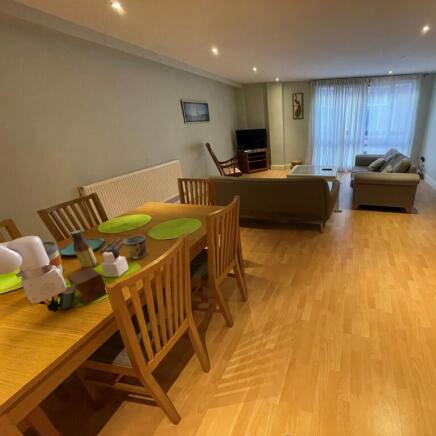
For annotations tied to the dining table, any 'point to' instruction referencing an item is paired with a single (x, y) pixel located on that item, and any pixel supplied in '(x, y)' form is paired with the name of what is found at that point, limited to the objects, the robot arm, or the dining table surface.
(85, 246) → the sauce bottle
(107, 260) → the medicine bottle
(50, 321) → the dining table surface
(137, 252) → the ceramic cup
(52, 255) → the reusable coffee cup
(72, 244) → the cutlery set
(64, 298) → the cylinder
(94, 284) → the box
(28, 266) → the robot arm
